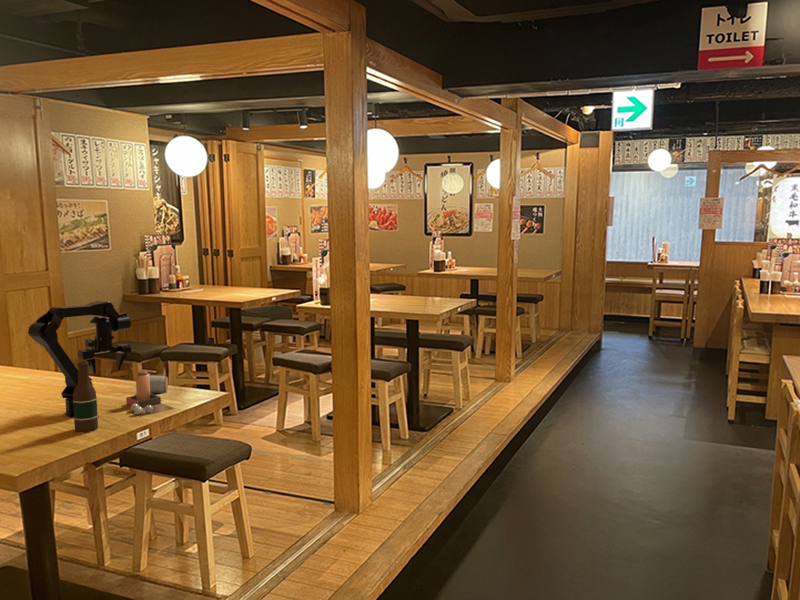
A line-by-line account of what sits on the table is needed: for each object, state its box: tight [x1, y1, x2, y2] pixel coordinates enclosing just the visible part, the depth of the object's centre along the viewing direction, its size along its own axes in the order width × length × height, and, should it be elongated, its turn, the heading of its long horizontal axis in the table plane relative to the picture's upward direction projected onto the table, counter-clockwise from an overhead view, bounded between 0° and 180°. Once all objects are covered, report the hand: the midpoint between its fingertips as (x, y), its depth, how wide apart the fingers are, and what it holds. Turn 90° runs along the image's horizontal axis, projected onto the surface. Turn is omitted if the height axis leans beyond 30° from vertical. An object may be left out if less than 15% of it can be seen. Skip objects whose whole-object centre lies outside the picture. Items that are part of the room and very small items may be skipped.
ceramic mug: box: [150, 374, 169, 395], centre depth 265 cm, size 11×8×8 cm
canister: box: [135, 370, 151, 401], centre depth 245 cm, size 5×5×13 cm
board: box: [126, 402, 176, 418], centre depth 238 cm, size 14×10×1 cm
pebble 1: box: [130, 404, 139, 411], centre depth 235 cm, size 3×3×3 cm
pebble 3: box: [144, 405, 153, 413], centre depth 234 cm, size 3×3×3 cm
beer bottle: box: [73, 360, 99, 433], centre depth 216 cm, size 8×8×24 cm
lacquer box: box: [125, 393, 162, 408], centre depth 245 cm, size 9×9×4 cm
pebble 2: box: [134, 406, 143, 416], centre depth 232 cm, size 3×3×3 cm
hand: (106, 372), depth 244 cm, fingers open, 9 cm apart
